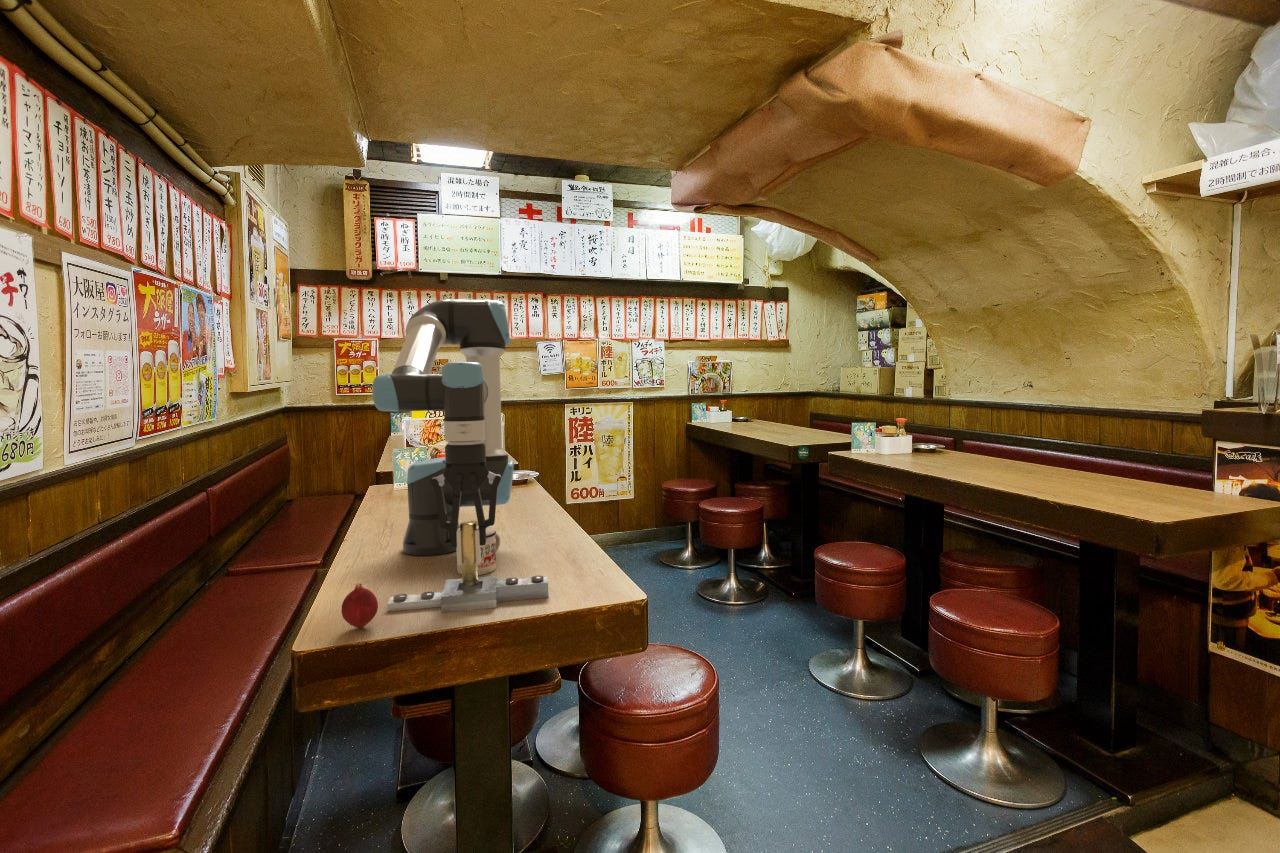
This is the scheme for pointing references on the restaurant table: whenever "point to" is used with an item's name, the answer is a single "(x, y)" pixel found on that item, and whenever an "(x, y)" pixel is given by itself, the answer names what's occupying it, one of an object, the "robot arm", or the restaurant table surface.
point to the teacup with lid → (486, 551)
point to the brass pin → (468, 554)
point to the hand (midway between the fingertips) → (469, 562)
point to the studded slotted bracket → (473, 594)
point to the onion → (359, 607)
